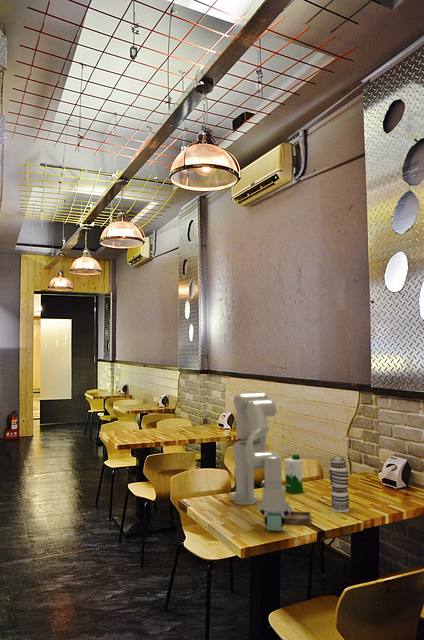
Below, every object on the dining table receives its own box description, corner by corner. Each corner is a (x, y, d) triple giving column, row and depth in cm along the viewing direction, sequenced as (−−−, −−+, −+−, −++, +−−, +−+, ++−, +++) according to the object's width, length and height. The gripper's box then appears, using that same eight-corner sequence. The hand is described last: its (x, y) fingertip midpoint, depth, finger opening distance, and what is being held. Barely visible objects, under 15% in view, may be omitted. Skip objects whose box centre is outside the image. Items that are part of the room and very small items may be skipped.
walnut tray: (268, 523, 213) (268, 506, 214) (270, 516, 223) (269, 500, 224) (311, 525, 210) (310, 508, 210) (310, 517, 219) (310, 501, 220)
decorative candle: (327, 509, 230) (324, 457, 233) (337, 505, 237) (334, 454, 239) (344, 513, 224) (341, 460, 226) (353, 509, 230) (350, 457, 233)
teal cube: (267, 530, 203) (267, 515, 203) (268, 525, 209) (268, 511, 209) (281, 530, 202) (281, 516, 202) (282, 525, 208) (281, 511, 208)
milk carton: (305, 492, 261) (303, 456, 263) (292, 495, 257) (290, 457, 259) (296, 489, 269) (294, 453, 271) (283, 491, 265) (281, 455, 267)
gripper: (253, 485, 205) (254, 528, 203) (293, 486, 201) (294, 529, 200) (254, 481, 212) (256, 521, 211) (293, 482, 209) (294, 523, 207)
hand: (274, 525), depth 205 cm, fingers closed on teal cube, 6 cm apart
